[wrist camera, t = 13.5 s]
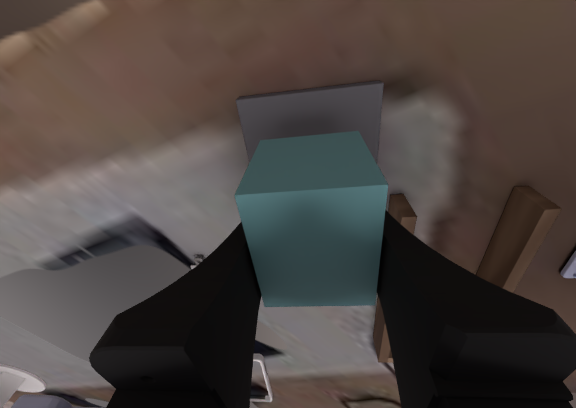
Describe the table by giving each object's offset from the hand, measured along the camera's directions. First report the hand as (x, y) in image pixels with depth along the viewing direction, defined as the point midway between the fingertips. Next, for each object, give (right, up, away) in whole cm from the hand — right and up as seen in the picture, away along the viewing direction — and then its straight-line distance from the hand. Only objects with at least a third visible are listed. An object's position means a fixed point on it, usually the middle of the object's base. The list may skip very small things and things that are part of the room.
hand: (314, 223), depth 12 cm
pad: (0, +5, +7) cm, 8 cm away
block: (0, +2, +1) cm, 2 cm away
